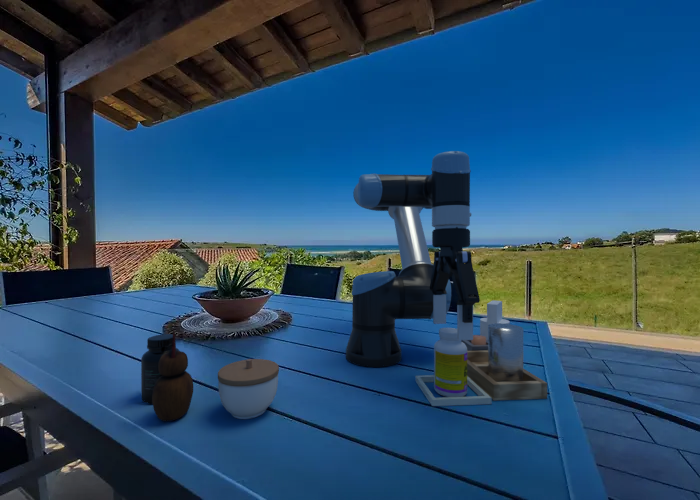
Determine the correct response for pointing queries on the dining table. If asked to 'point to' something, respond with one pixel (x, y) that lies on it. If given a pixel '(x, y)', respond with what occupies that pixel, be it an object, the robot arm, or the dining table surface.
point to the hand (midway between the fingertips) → (451, 330)
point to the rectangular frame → (448, 401)
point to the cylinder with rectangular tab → (492, 317)
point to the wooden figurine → (172, 385)
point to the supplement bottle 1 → (153, 363)
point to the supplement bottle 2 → (450, 364)
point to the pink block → (478, 340)
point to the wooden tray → (503, 390)
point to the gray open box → (474, 346)
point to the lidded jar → (248, 387)
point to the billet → (505, 352)
